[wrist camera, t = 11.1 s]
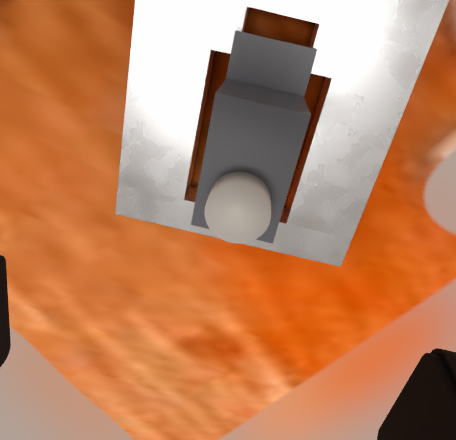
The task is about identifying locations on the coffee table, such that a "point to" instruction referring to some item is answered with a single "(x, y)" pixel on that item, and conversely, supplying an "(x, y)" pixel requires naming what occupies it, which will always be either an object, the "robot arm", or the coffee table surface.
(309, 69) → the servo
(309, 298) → the coffee table surface
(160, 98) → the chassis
